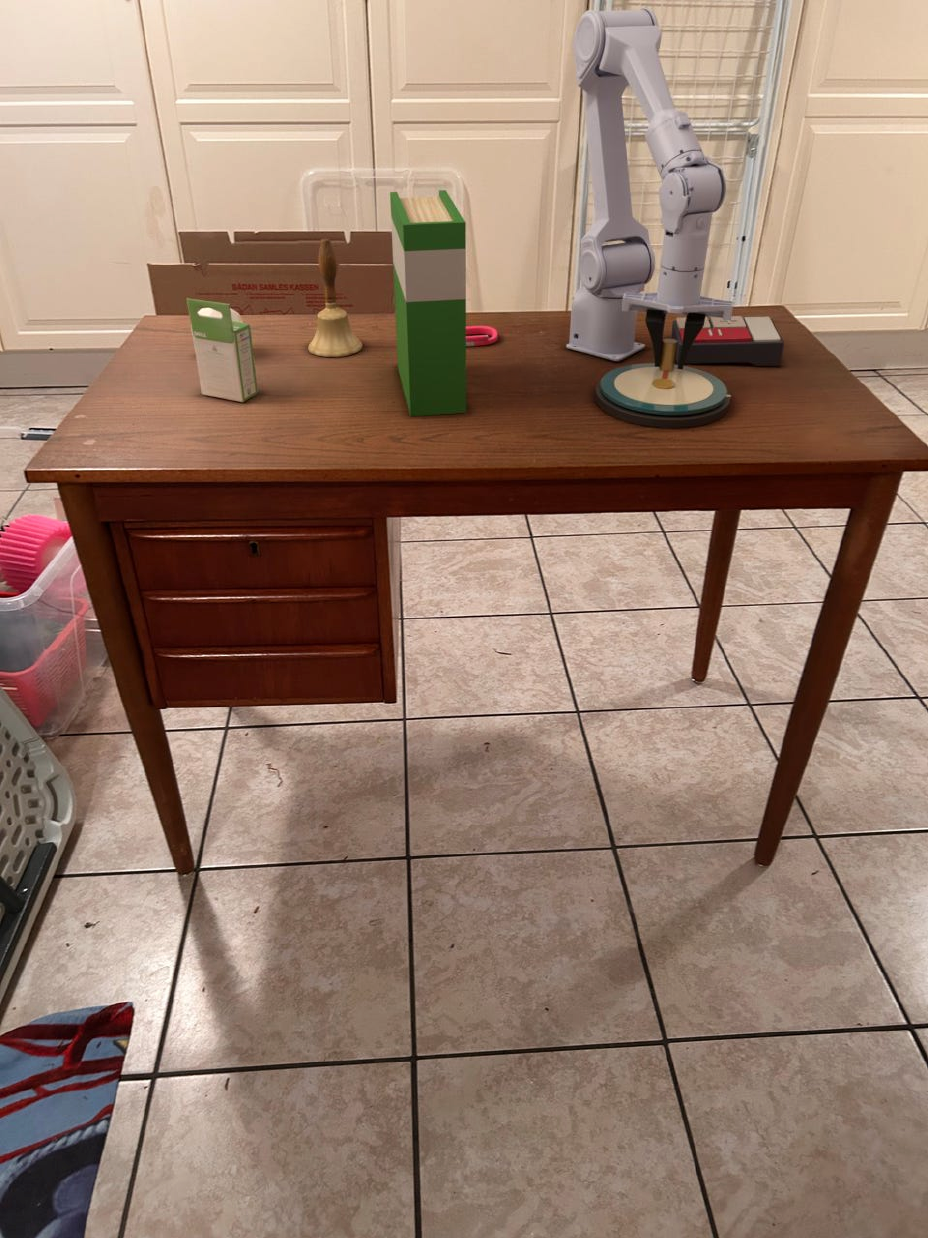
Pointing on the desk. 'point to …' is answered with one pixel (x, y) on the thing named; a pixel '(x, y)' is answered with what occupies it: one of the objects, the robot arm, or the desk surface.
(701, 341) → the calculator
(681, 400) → the turntable with peg
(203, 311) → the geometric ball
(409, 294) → the hardback book
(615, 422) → the desk surface
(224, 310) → the ink box
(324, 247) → the hand bell
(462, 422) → the desk surface
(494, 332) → the fitness band
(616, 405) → the stand
